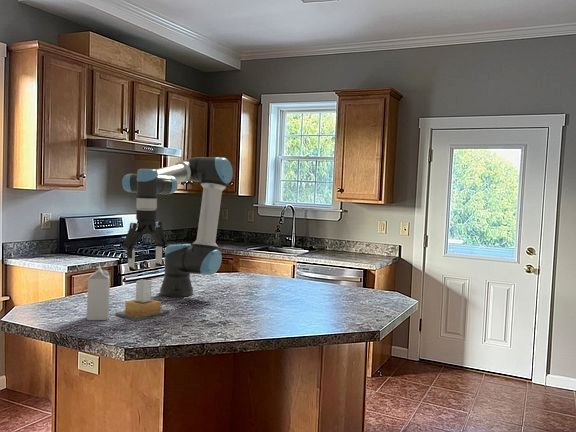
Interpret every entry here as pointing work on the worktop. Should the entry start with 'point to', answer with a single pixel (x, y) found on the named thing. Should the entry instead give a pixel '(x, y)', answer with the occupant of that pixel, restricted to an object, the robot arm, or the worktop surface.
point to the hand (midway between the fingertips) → (145, 265)
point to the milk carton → (98, 295)
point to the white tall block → (143, 291)
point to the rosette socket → (142, 310)
